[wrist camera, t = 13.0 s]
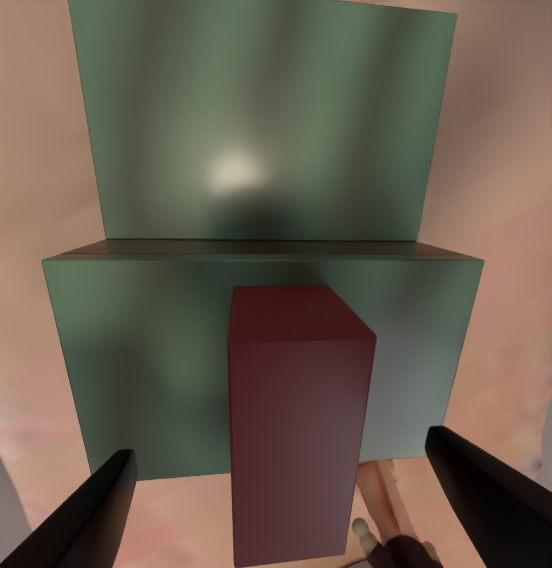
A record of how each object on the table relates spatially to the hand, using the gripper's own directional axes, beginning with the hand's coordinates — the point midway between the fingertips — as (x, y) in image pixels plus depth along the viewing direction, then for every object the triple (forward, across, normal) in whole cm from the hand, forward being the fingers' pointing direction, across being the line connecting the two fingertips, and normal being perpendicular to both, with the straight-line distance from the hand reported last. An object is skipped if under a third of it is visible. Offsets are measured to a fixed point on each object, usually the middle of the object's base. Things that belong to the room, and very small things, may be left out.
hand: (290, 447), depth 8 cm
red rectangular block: (+3, 0, 0) cm, 3 cm away
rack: (+11, 0, -5) cm, 12 cm away
